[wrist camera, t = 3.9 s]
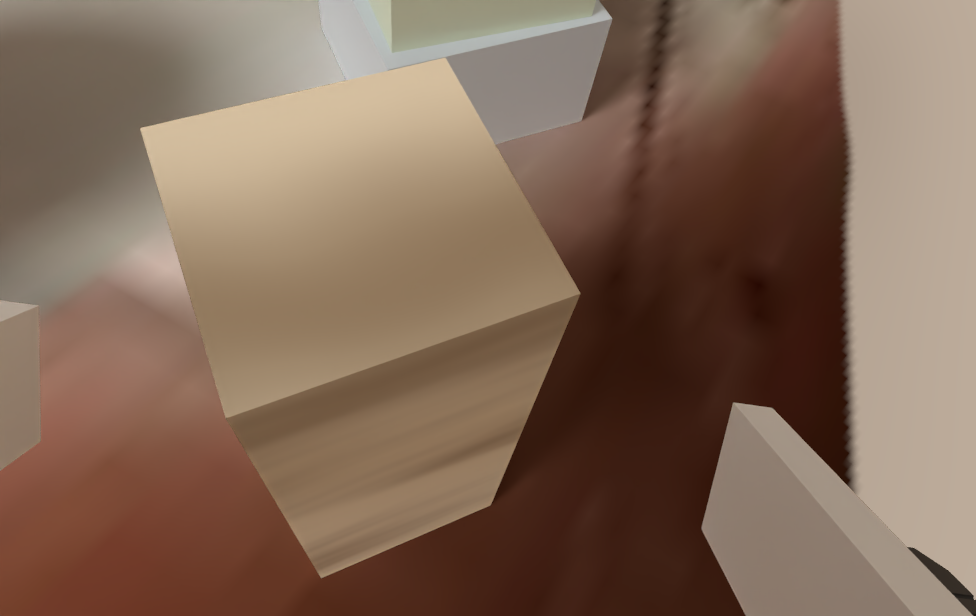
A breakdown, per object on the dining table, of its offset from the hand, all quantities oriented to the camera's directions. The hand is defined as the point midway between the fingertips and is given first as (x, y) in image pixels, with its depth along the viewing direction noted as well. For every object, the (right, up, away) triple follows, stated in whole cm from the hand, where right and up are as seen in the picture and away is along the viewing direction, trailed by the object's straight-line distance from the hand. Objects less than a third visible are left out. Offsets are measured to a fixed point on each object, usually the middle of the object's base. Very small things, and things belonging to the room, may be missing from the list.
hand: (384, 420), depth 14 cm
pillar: (-1, -2, +7) cm, 8 cm away
